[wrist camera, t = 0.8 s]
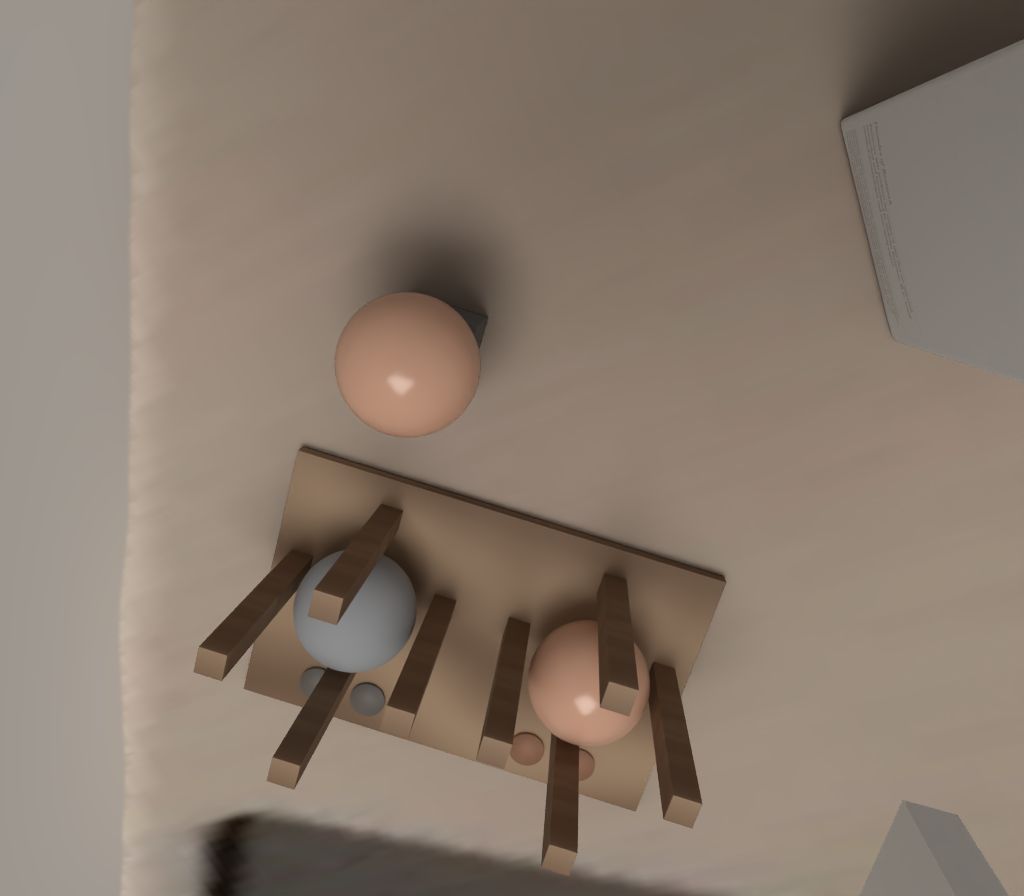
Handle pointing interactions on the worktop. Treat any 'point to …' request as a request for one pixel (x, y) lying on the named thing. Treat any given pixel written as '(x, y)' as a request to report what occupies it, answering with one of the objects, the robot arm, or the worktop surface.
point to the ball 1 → (359, 619)
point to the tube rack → (475, 639)
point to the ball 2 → (579, 687)
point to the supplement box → (949, 210)
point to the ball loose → (407, 364)
